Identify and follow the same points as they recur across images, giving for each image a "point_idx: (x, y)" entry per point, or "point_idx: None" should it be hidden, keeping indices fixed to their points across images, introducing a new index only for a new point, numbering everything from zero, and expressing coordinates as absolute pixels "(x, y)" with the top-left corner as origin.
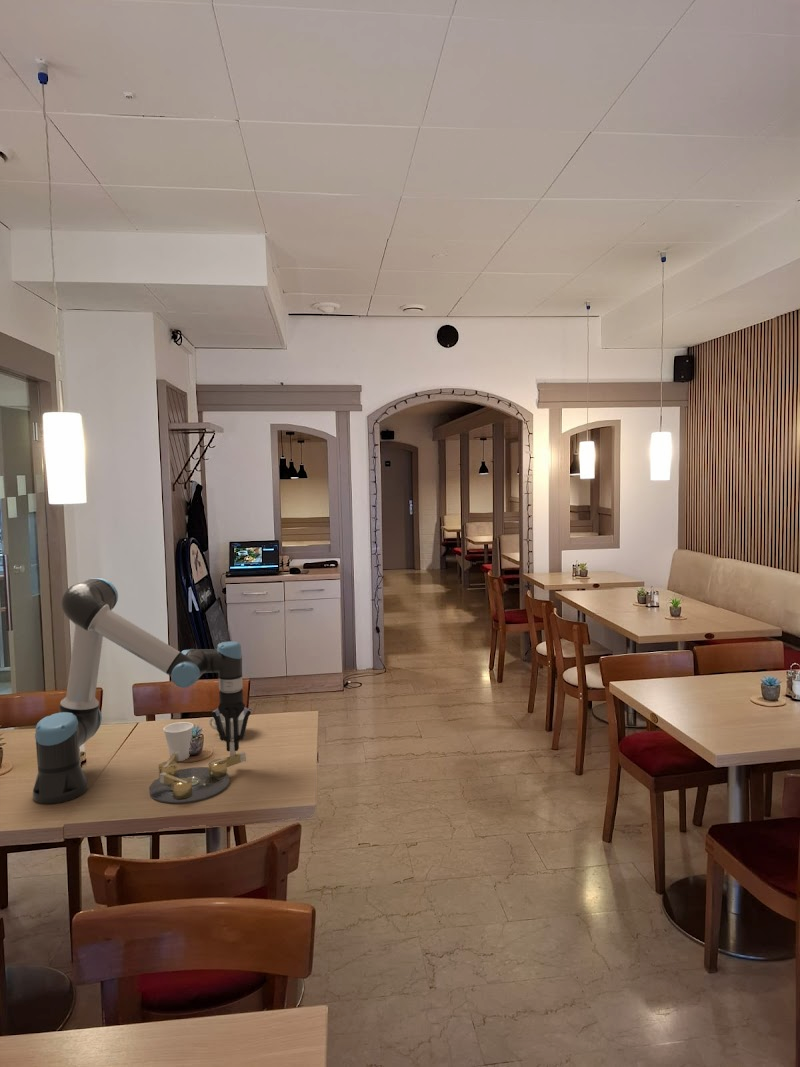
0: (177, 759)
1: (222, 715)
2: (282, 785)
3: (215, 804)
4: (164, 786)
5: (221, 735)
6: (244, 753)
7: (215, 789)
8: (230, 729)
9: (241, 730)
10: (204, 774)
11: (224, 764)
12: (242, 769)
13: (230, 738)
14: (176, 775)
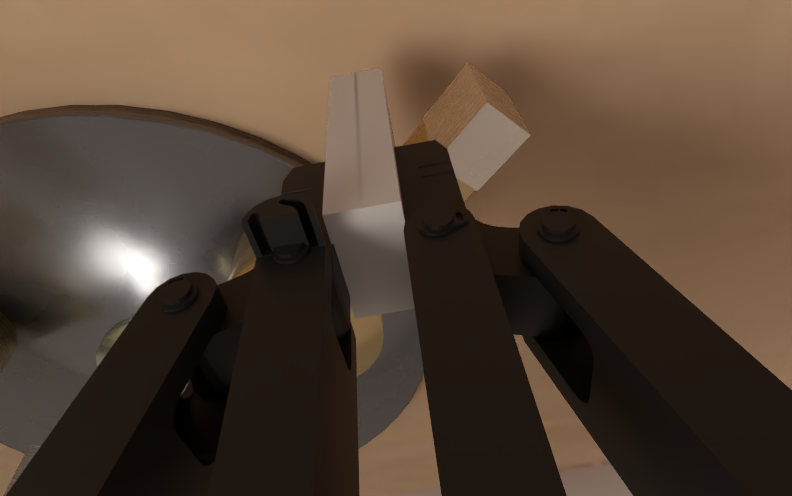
0: None
1: None
2: (778, 278)
3: (429, 453)
4: (44, 404)
5: (211, 439)
6: (517, 143)
7: (383, 399)
8: (331, 424)
9: (617, 455)
10: (182, 250)
11: (378, 351)
12: (447, 55)
13: (339, 295)
14: (5, 338)
